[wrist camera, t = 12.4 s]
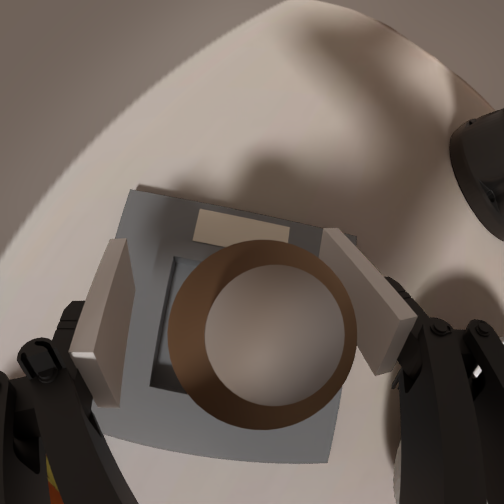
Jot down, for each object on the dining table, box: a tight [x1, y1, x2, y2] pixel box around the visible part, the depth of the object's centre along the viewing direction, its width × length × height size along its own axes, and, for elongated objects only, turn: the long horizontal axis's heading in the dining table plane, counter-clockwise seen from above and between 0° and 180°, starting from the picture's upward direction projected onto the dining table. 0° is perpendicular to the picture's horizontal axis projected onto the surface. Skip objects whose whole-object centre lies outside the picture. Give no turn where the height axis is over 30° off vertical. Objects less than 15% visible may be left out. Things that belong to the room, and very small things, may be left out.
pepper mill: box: [167, 240, 357, 430], centre depth 12 cm, size 5×5×12 cm
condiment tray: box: [91, 189, 357, 464], centre depth 18 cm, size 16×16×2 cm
